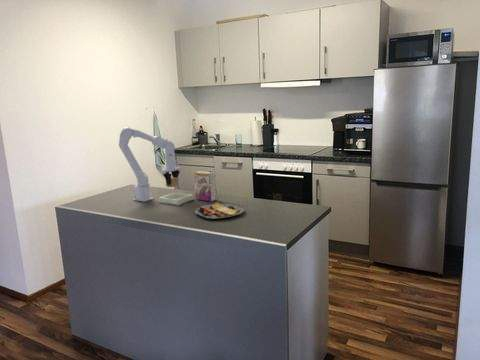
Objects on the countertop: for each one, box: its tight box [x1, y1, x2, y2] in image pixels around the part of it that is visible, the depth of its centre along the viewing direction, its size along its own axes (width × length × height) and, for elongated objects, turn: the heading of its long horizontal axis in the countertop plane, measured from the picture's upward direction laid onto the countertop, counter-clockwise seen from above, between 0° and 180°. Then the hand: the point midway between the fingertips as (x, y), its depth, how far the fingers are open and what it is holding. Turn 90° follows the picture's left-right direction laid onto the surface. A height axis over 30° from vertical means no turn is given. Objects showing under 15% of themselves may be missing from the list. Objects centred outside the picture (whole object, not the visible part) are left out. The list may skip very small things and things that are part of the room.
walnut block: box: [165, 176, 179, 188], centre depth 240 cm, size 5×5×5 cm
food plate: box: [194, 201, 245, 220], centre depth 205 cm, size 25×23×4 cm
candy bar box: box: [194, 170, 217, 202], centre depth 232 cm, size 11×5×16 cm, turn 58°
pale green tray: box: [158, 192, 194, 206], centre depth 232 cm, size 14×14×3 cm
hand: (172, 183), depth 241 cm, fingers closed on walnut block, 5 cm apart
